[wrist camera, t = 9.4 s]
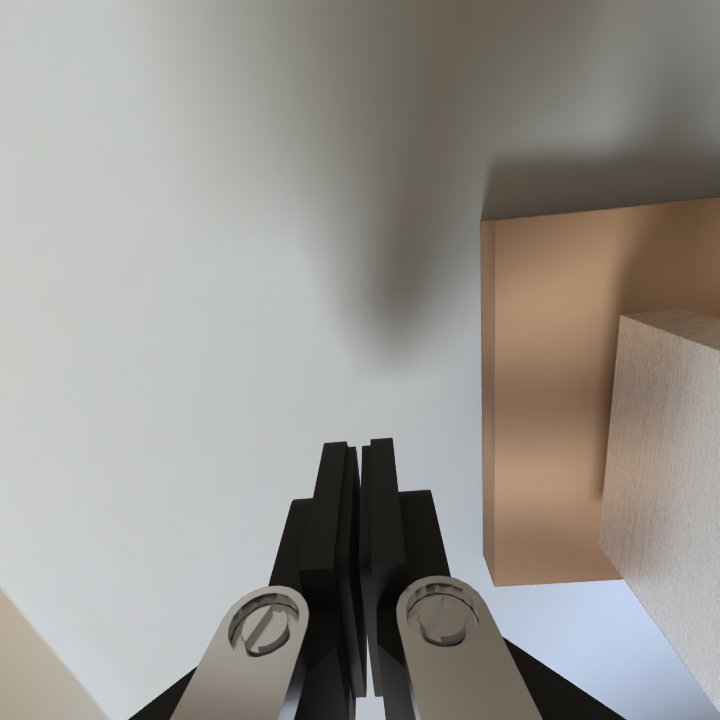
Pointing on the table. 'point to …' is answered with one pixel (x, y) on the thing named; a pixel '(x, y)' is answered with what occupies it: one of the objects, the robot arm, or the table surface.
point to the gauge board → (570, 367)
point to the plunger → (668, 480)
